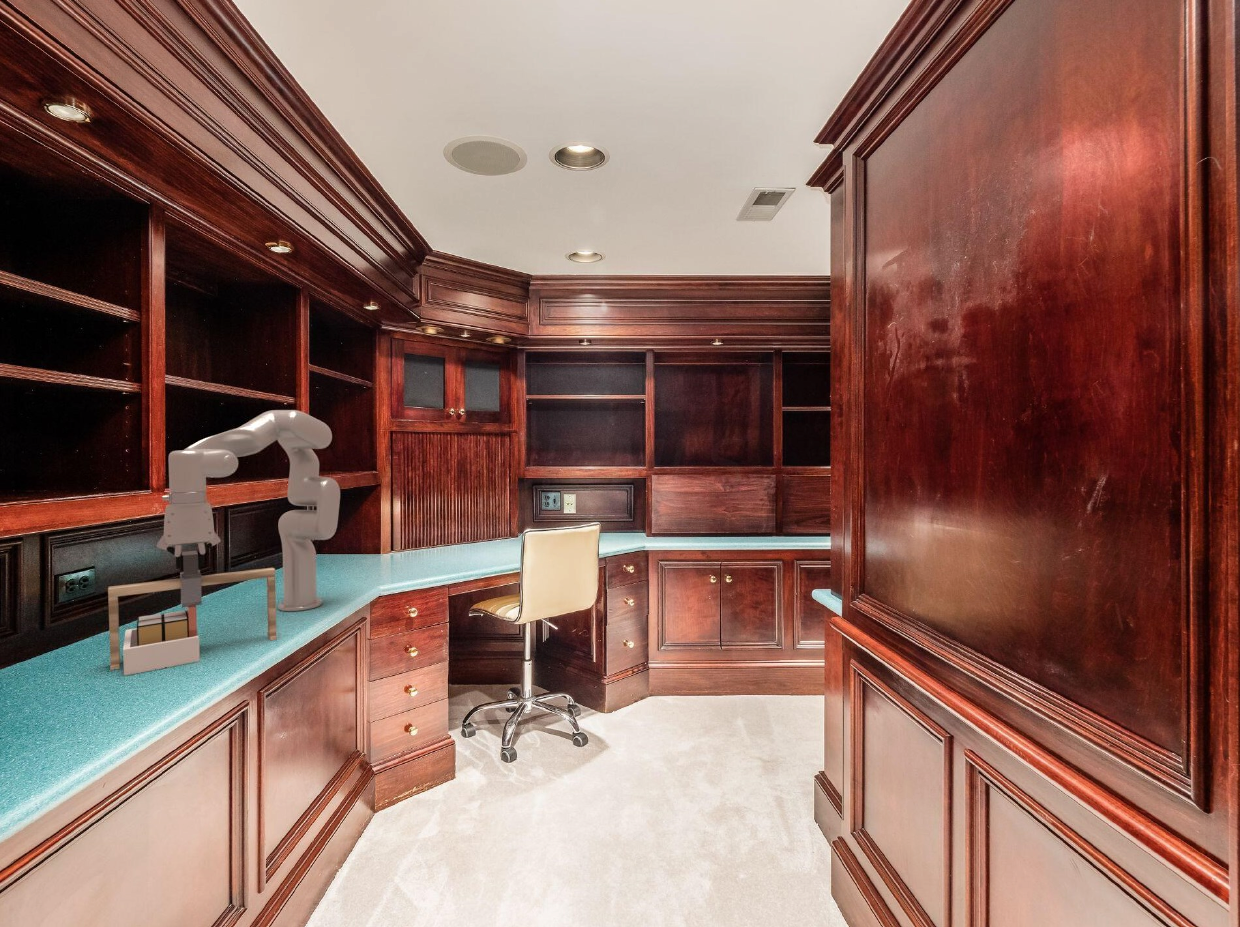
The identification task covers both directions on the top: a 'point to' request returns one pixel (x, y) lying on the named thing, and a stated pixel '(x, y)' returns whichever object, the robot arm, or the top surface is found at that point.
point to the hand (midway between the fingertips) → (190, 569)
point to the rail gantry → (176, 584)
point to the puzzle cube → (162, 627)
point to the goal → (157, 653)
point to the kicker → (191, 588)
